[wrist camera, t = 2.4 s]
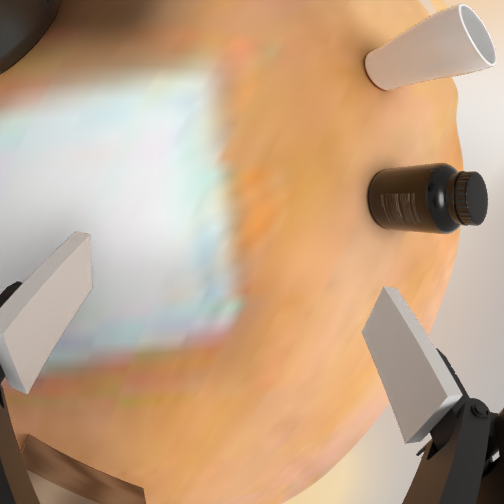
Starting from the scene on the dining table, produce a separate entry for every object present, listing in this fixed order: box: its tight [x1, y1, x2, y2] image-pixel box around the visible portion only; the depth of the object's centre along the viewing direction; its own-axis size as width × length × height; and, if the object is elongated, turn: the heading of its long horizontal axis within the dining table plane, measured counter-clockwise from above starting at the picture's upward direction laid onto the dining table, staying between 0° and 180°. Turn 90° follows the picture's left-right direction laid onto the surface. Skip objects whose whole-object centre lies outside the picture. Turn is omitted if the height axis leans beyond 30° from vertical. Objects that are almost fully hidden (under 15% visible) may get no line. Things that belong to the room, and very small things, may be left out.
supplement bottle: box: [369, 163, 488, 234], centre depth 28 cm, size 7×7×12 cm
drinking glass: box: [365, 4, 497, 90], centre depth 24 cm, size 7×7×15 cm
